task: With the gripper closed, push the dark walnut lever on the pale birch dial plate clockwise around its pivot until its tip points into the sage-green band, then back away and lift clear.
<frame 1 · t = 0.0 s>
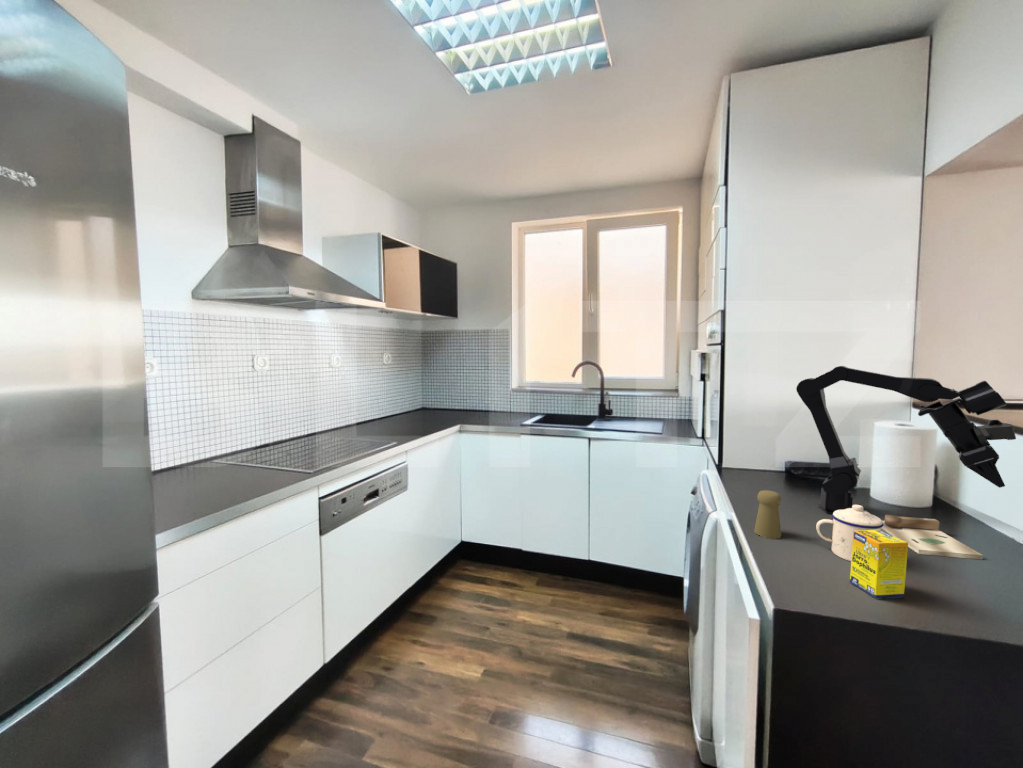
hand: (999, 482, 106), 15 cm above the worktop, tool tilted 35°, fingers open, 9 cm apart
teacup with lid: (846, 555, 101), on the worktop
cork: (767, 534, 112), on the worktop
dial plate: (923, 539, 109), on the worktop
supplement box: (875, 591, 86), on the worktop
walnut lever: (911, 522, 113), point 3 cm above the worktop, hinge at 0.0°
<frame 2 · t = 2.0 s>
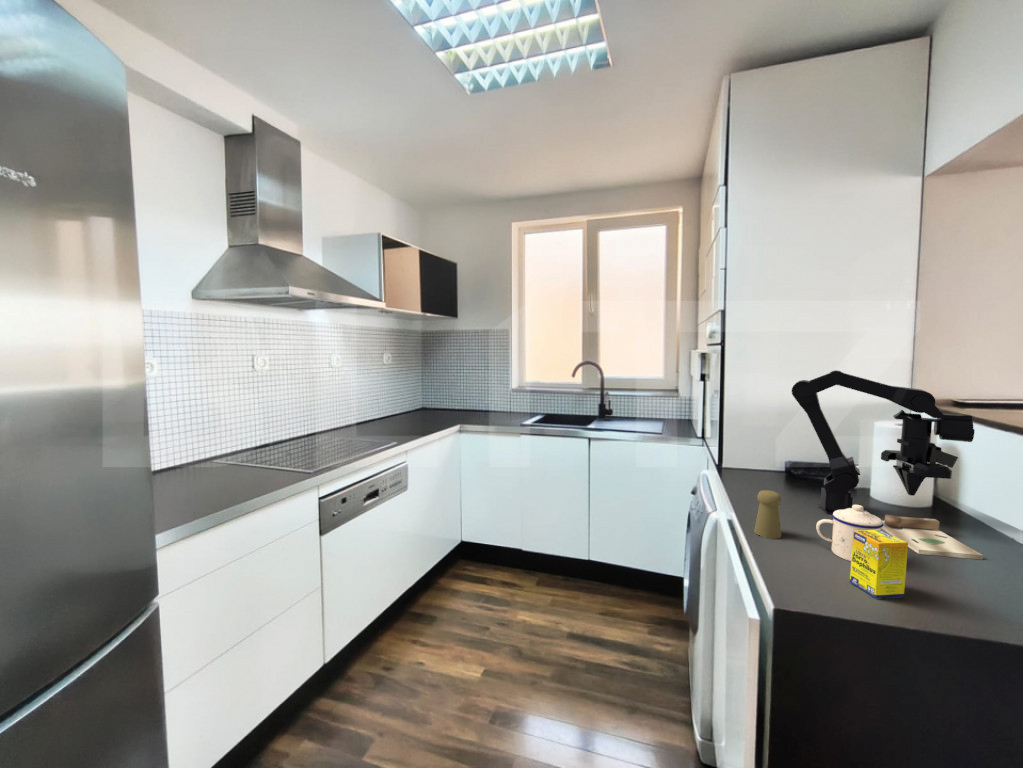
hand: (911, 495, 118), 8 cm above the worktop, tool pointing down, fingers closed
nothing on the worktop moved.
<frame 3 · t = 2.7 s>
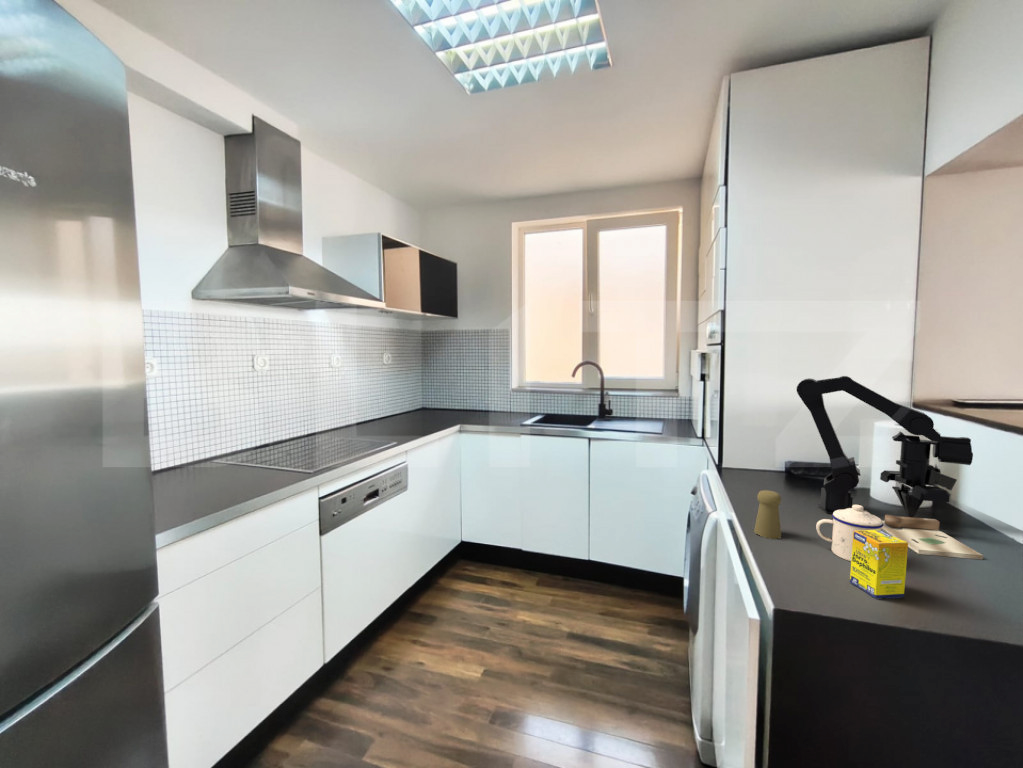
hand: (910, 516, 118), 2 cm above the worktop, tool pointing down, fingers closed
nothing on the worktop moved.
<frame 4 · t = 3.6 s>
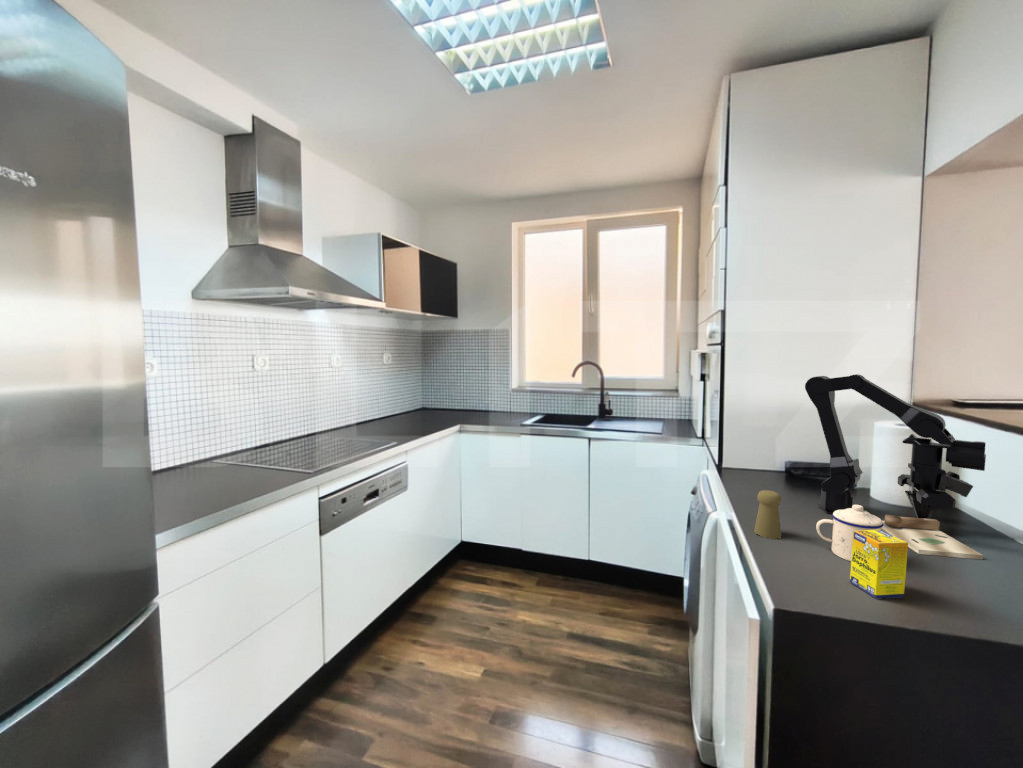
hand: (921, 522, 114), 2 cm above the worktop, tool pointing down, fingers closed
walnut lever: (911, 522, 113), point 2 cm above the worktop, hinge at -0.4°, touching gripper
everything else where it was.
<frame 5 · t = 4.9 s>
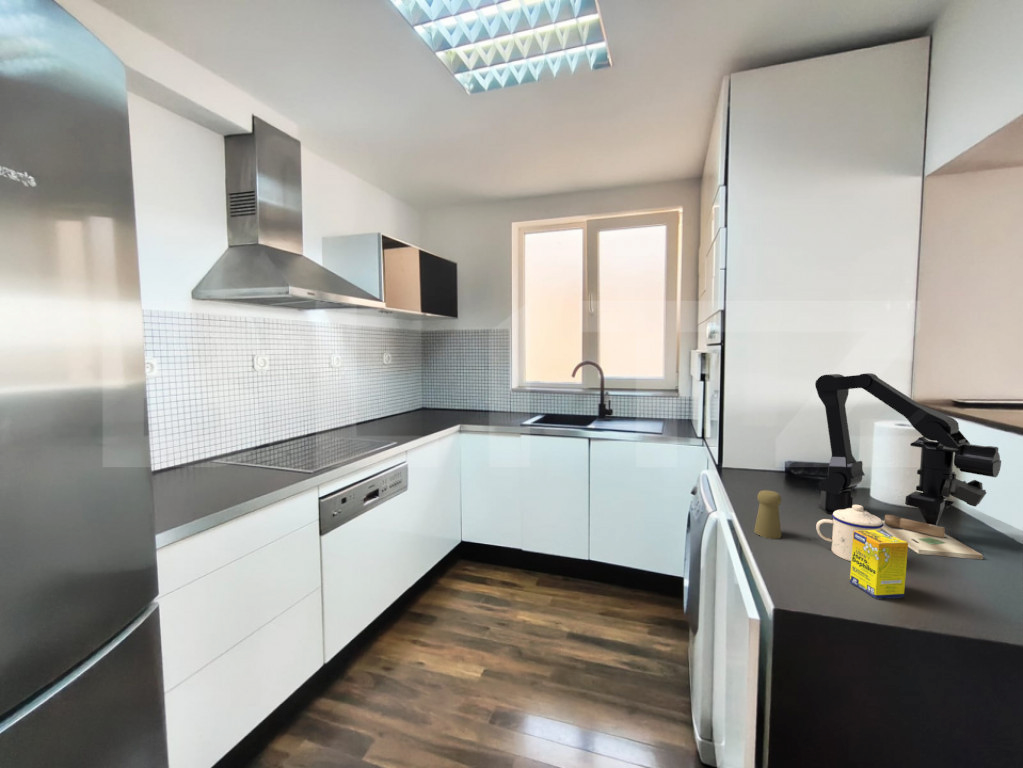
hand: (932, 528, 110), 2 cm above the worktop, tool pointing down, fingers closed
walnut lever: (913, 525, 111), point 2 cm above the worktop, hinge at -35.7°, touching gripper
everything else where it was.
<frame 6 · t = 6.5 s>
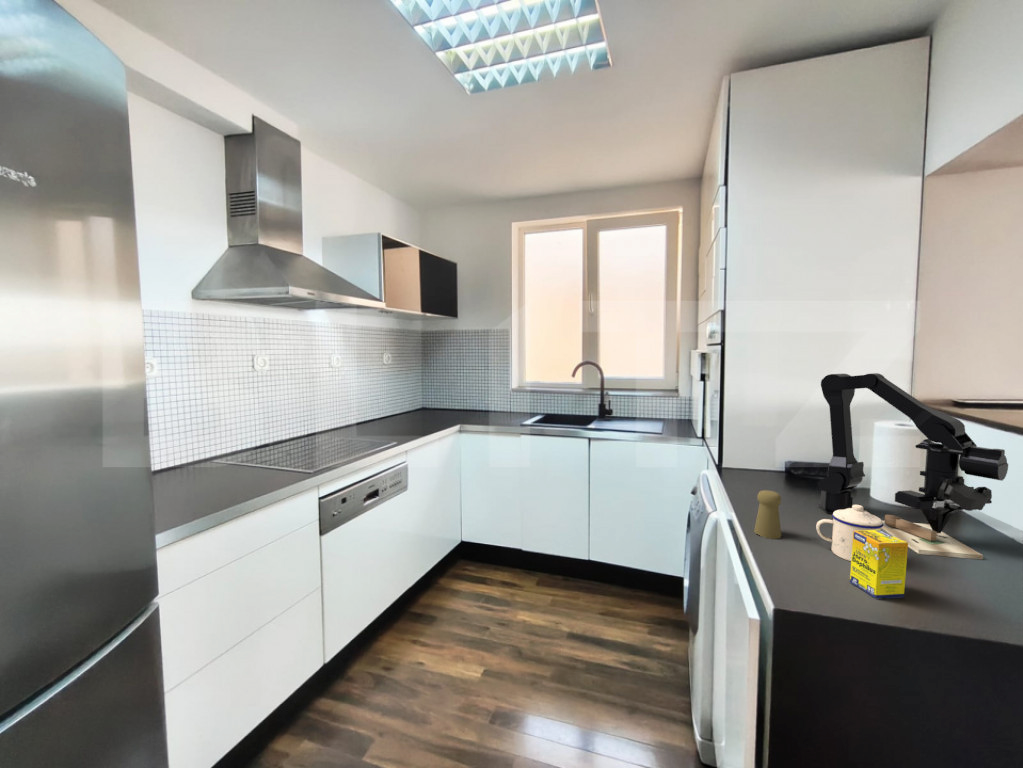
hand: (936, 532, 108), 2 cm above the worktop, tool pointing down, fingers closed
walnut lever: (909, 526, 110), point 2 cm above the worktop, hinge at -66.4°
everything else where it was.
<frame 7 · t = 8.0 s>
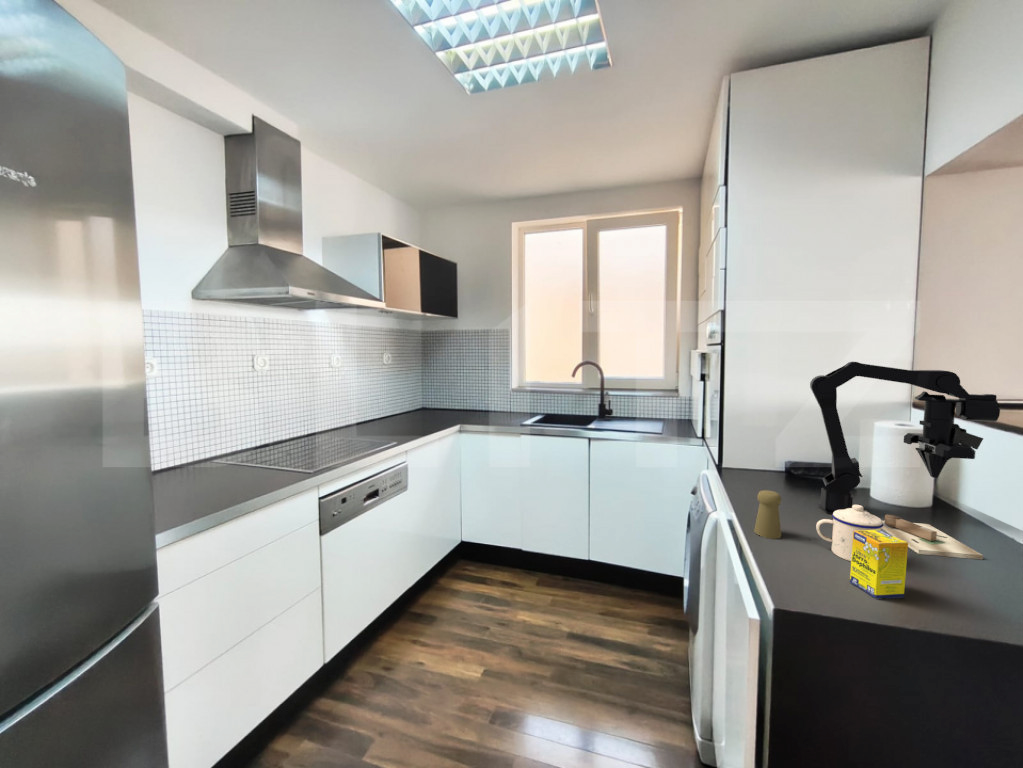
hand: (934, 477, 116), 13 cm above the worktop, tool pointing down, fingers closed
nothing on the worktop moved.
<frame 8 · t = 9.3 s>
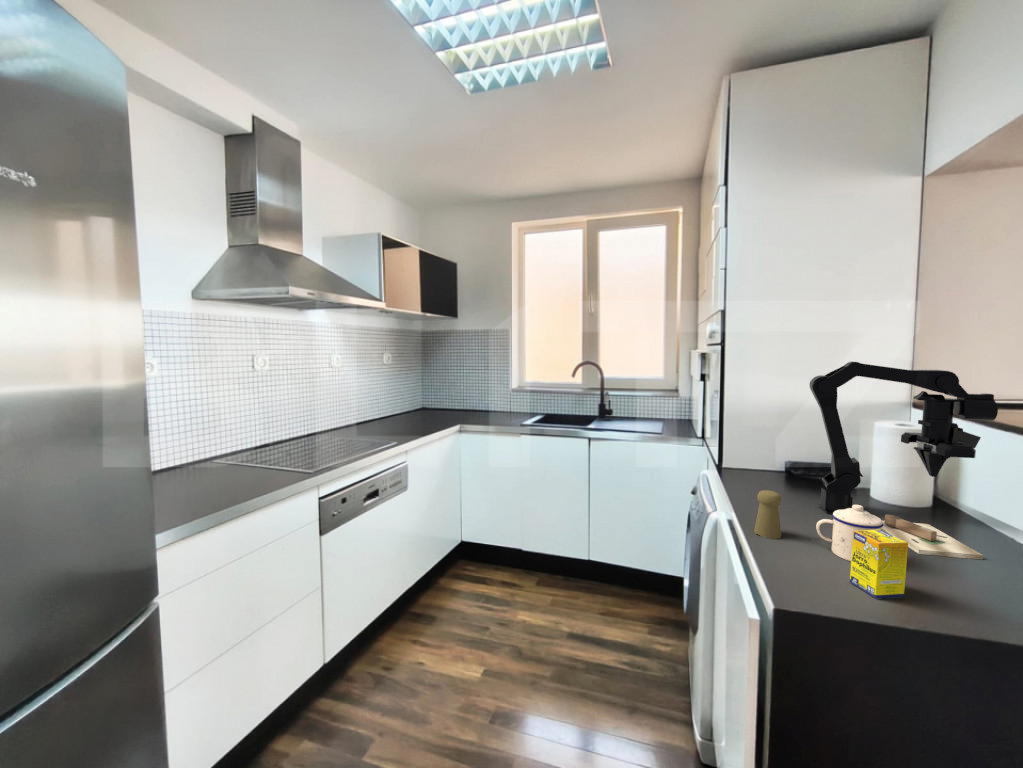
hand: (933, 476, 117), 13 cm above the worktop, tool pointing down, fingers closed
nothing on the worktop moved.
at the end: walnut lever at -66° (first picture: +0°); teacup with lid moved 0.2 cm from its start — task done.
